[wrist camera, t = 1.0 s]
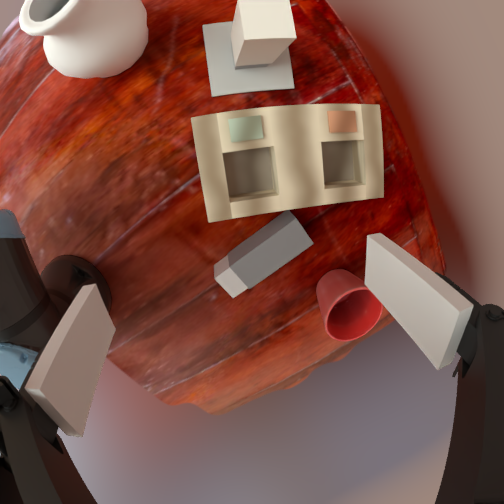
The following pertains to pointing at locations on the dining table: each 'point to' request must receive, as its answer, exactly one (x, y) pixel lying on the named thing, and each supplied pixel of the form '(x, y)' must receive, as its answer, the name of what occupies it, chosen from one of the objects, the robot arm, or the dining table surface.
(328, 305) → the flower pot
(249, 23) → the plug
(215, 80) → the mat
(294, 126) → the socket box
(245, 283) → the plug
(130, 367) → the dining table surface
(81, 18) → the vase
